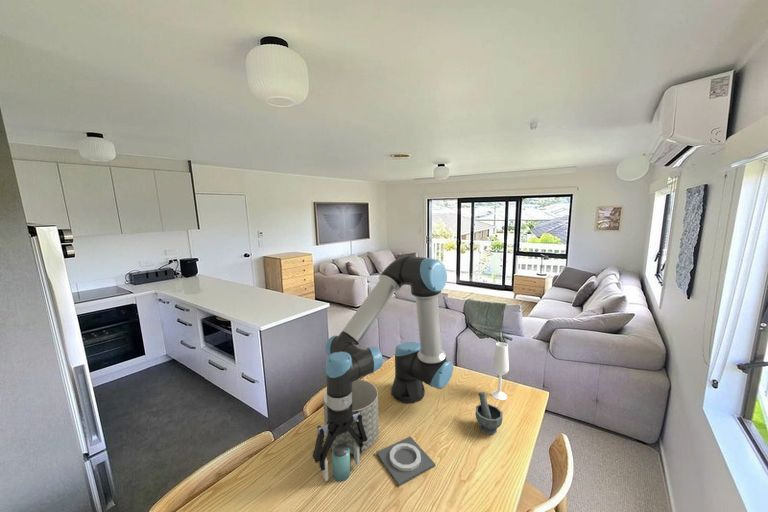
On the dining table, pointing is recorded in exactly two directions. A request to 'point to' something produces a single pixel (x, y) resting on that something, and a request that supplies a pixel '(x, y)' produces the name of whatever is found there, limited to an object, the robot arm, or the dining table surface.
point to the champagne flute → (500, 367)
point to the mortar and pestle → (488, 415)
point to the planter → (366, 406)
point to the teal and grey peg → (341, 462)
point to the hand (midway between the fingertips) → (341, 469)
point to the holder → (405, 460)
